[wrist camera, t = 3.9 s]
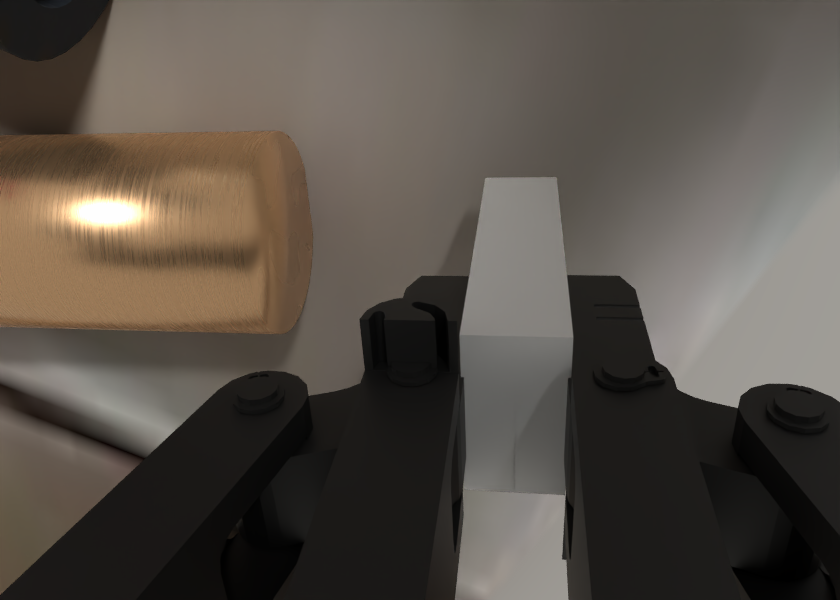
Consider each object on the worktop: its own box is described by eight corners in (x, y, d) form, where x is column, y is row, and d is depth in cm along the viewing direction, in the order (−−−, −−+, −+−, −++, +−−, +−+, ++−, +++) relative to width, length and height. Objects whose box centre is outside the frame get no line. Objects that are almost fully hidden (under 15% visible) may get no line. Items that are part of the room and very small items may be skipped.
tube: (304, 119, 17) (232, 149, 13) (319, 293, 19) (259, 370, 14) (-142, 127, 19) (-333, 155, 15) (-95, 286, 20) (-254, 353, 16)
